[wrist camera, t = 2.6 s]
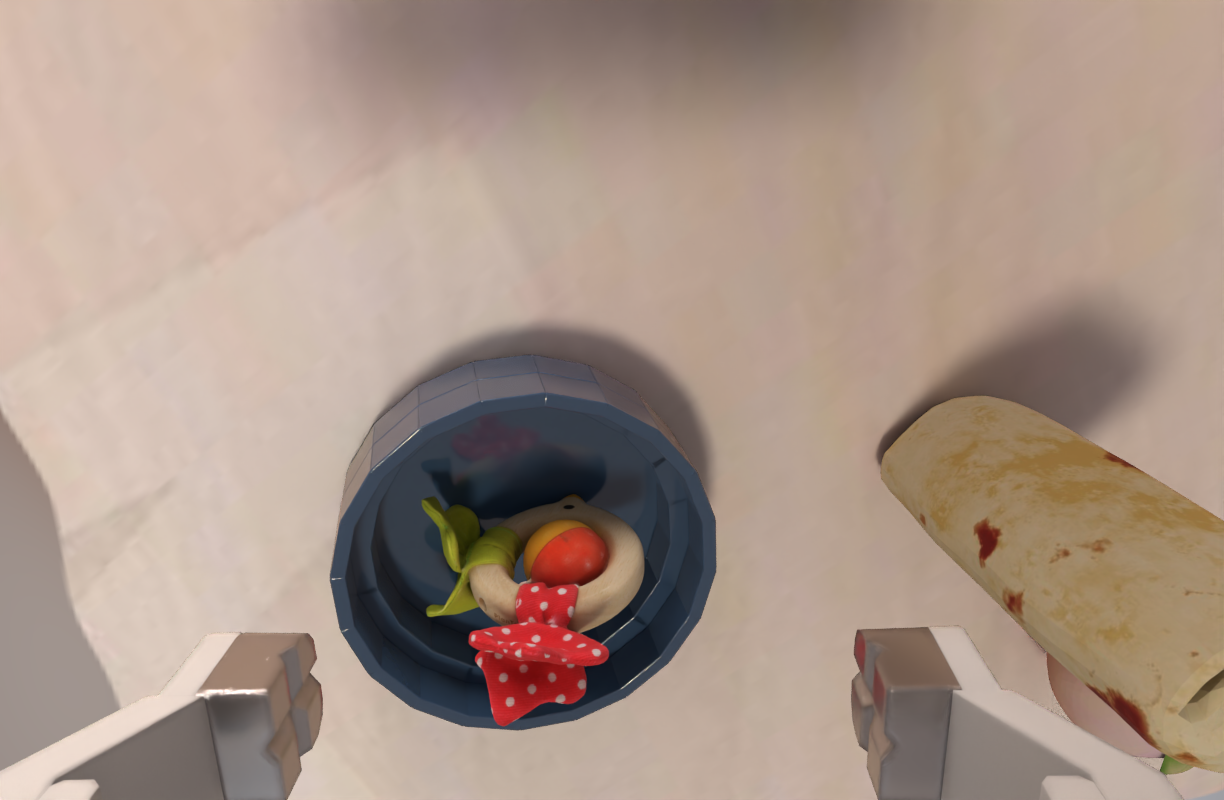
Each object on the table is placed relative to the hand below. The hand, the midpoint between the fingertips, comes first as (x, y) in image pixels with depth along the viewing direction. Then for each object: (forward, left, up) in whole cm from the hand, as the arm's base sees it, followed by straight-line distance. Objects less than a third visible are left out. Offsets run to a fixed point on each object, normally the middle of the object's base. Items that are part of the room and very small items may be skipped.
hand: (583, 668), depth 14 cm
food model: (+18, +18, -26) cm, 36 cm away
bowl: (+11, -3, -26) cm, 29 cm away
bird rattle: (+11, -3, -26) cm, 28 cm away
